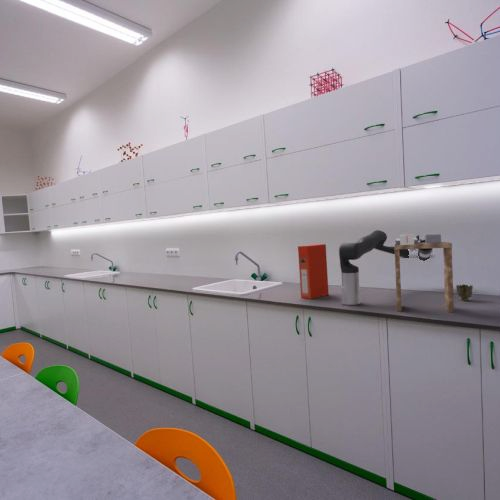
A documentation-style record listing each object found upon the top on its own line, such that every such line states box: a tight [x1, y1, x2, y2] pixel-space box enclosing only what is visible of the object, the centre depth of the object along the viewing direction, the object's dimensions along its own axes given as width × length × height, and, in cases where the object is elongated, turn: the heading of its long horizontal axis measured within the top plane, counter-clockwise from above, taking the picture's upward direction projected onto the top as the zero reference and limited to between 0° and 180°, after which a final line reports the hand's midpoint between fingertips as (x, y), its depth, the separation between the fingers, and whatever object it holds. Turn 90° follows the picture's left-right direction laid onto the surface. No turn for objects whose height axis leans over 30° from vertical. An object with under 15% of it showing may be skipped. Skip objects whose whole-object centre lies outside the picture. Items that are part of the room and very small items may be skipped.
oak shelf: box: [393, 241, 455, 314], centre depth 173 cm, size 24×13×32 cm, turn 68°
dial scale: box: [394, 233, 419, 245], centre depth 174 cm, size 10×13×5 cm
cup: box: [455, 284, 474, 302], centre depth 186 cm, size 8×7×8 cm
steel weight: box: [424, 233, 442, 244], centre depth 175 cm, size 6×20×4 cm, turn 158°
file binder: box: [297, 243, 330, 300], centre depth 221 cm, size 8×17×32 cm, turn 131°
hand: (426, 236), depth 197 cm, fingers open, 8 cm apart
